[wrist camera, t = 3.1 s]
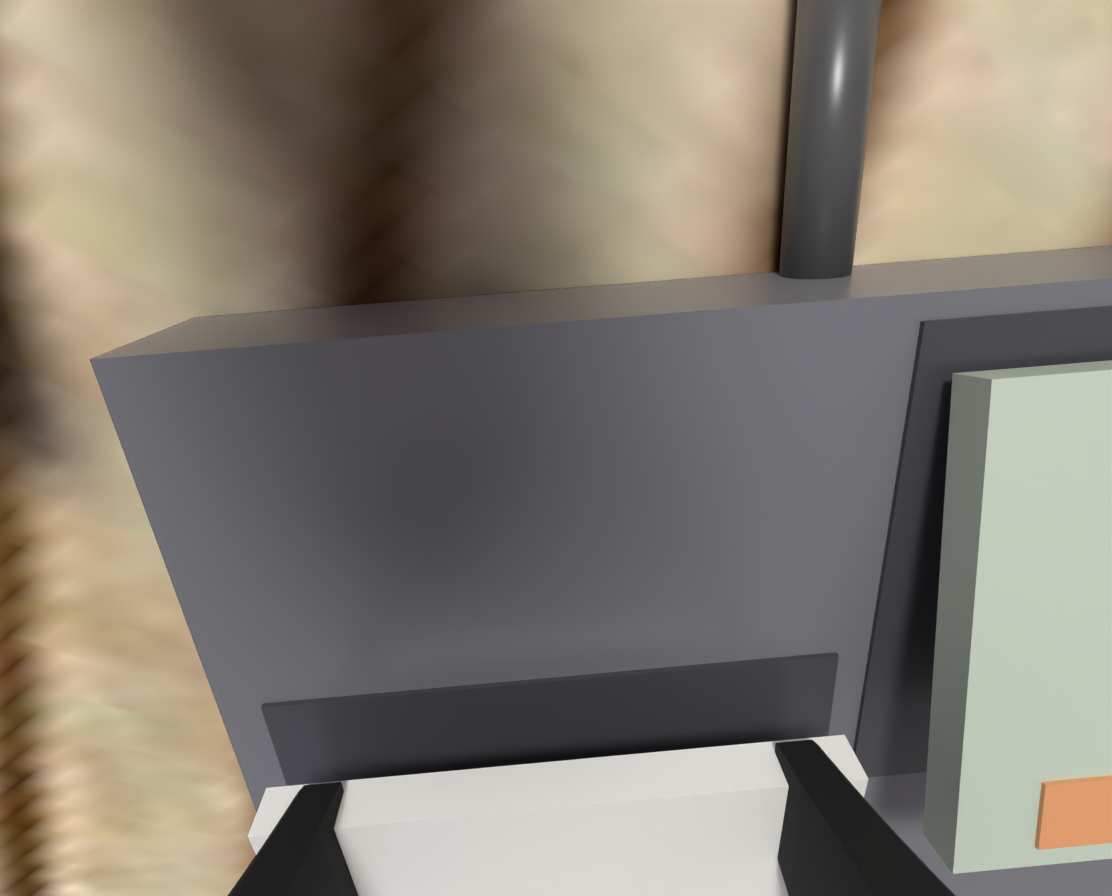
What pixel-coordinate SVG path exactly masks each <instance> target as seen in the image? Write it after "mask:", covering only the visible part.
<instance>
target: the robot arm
mask: <svg viewBox="0 0 1112 896" xmlns="http://www.w3.org/2000/svg"><path fill="white" fill-rule="evenodd" d="M775 754H776V756H777V759H778V761H779V764H780V766H781V769H782V771H783V773H784V776H785V778H786V781H787V783H788V786H789V788H788V794H787V801H786V807H785V813H784V819H783V826H782V832H781V838H780V844H779V851H778V857H777V860H778V863H779V866H780V869H781V873H782V876H783V879H784V882H785V886H786V889H787V892H788V895H789V896H956V895H955V894H954V893H953V892H952V891H951V890H950V889H949V888H948V887H947V886H946V885H945V884H944V883H943V882H942V881H941V880H940V879H939V878H938V877H937V876H936V875H935V874H934V873H933V872H932V871H931V870H930V869H929V868H928V867H927V866H926V864H925V863H924V862H923V861H922V860H921V859H920V858H919V857H918V856H917V855H916V854H915V853H914V852H913V851H912V850H911V849H910V848H909V847H908V846H907V844H906V843H905V842H904V841H903V840H902V839H901V838H900V837H899V836H898V835H897V834H896V833H895V832H894V831H893V829H892V828H891V827H890V826H889V825H888V824H887V823H886V822H885V821H884V820H883V819H882V817H881V816H880V815H879V814H878V813H877V812H876V811H875V810H874V808H873V807H872V806H871V805H870V804H869V803H868V802H867V801H866V800H865V798H864V797H863V796H862V795H861V794H860V793H859V792H858V790H857V789H856V788H855V787H854V786H853V785H852V784H851V782H850V781H849V780H848V779H847V778H846V777H845V776H844V774H843V773H842V772H841V771H840V770H839V769H838V767H837V766H836V765H835V764H834V763H833V762H832V760H831V759H830V758H829V757H828V756H827V755H826V753H825V752H824V751H823V750H822V749H821V747H820V746H819V745H818V744H817V743H816V742H814V741H813V740H802V741H791V742H780V743H776V746H775ZM343 793H344V790H343V786H342V783H341V782H333V783H321V784H310V785H304V786H303V787H302V788H301V789H300V790H299V791H298V793H297V794H296V796H295V797H294V799H293V800H292V802H291V804H290V805H289V807H288V808H287V810H286V811H285V813H284V814H283V816H282V817H281V819H280V820H279V822H278V823H277V825H276V826H275V828H274V829H273V831H272V832H271V834H270V835H269V837H268V838H267V840H266V841H265V843H264V844H263V846H262V847H261V849H260V850H259V852H258V853H257V854H256V856H255V857H254V859H253V860H252V862H251V863H250V865H249V866H248V868H247V869H246V871H245V872H244V873H243V875H242V876H241V878H240V879H239V881H238V882H237V884H236V885H235V886H234V888H233V889H232V891H231V892H230V893H229V895H228V896H358V893H357V890H356V887H355V885H354V882H353V879H352V877H351V874H350V871H349V868H348V866H347V863H346V860H345V858H344V855H343V852H342V850H341V847H340V844H339V841H338V839H337V836H336V833H335V831H334V826H335V822H336V819H337V815H338V811H339V808H340V804H341V800H342V796H343Z"/></svg>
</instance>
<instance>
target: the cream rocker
mask: <svg viewBox="0 0 1112 896" xmlns="http://www.w3.org/2000/svg"><path fill="white" fill-rule="evenodd" d="M802 740H813V741H814V742H816V743H817V744H818V745H819V746H820V747H821V749H822V750H823V751H824V752H825V753H826V755H827V756H828V757H829V758H830V759H831V760H832V762H833V763H834V764H835V765H836V766H837V767H838V769H839V770H840V771H841V772H842V773H843V774H844V776H845V777H846V778H847V779H848V780H849V781H850V782H851V784H852V785H853V786H854V787H855V788H856V789H857V790H858V792H859V793H860V794H861V795H862V796H863V797H864V795H865V791H866V787H867V783H868V777H867V775H866V773H865V771H864V770H863V768H862V766H861V764H860V762H859V760H858V759H857V757H856V755H855V753H854V751H853V749H852V747H851V746H850V744H849V742H848V740H847V738H846V736H845V735H835V736H825V737H814V738H803V739H792V740H781V741H770V742H759V743H748V744H738V745H727V746H716V747H705V748H694V749H683V750H672V751H661V752H651V753H640V754H629V755H618V756H607V757H596V758H585V759H574V760H564V761H553V762H542V763H531V764H520V765H509V766H498V767H488V768H477V769H466V770H455V771H444V772H433V773H422V774H411V775H401V776H390V777H379V778H368V779H357V780H346V781H335V782H341V783H342V786H343V790H344V793H343V796H342V800H341V804H340V808H339V811H338V815H337V819H336V822H335V826H334V831H335V833H336V836H337V839H338V841H339V844H340V847H341V850H342V852H343V855H344V858H345V860H346V863H347V866H348V868H349V871H350V874H351V877H352V879H353V882H354V885H355V887H356V890H357V893H358V896H789V895H788V892H787V889H786V886H785V882H784V879H783V876H782V873H781V869H780V866H779V863H778V860H777V857H778V851H779V844H780V838H781V832H782V826H783V819H784V813H785V807H786V801H787V794H788V788H789V786H788V783H787V781H786V778H785V776H784V773H783V771H782V769H781V766H780V764H779V761H778V759H777V756H776V754H775V746H776V743H780V742H791V741H802ZM324 783H333V782H324ZM314 784H321V783H314ZM304 785H310V784H303V785H292V786H281V787H270V788H266V790H265V793H264V795H263V798H262V801H261V803H260V806H259V808H258V811H257V814H256V816H255V819H254V821H253V824H252V827H251V829H250V832H249V834H248V839H249V841H250V843H251V845H252V847H253V849H254V851H255V853H256V854H257V853H258V852H259V850H260V849H261V847H262V846H263V844H264V843H265V841H266V840H267V838H268V837H269V835H270V834H271V832H272V831H273V829H274V828H275V826H276V825H277V823H278V822H279V820H280V819H281V817H282V816H283V814H284V813H285V811H286V810H287V808H288V807H289V805H290V804H291V802H292V800H293V799H294V797H295V796H296V794H297V793H298V791H299V790H300V789H301V788H302V787H303V786H304Z"/></svg>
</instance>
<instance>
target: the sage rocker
mask: <svg viewBox="0 0 1112 896" xmlns="http://www.w3.org/2000/svg"><path fill="white" fill-rule="evenodd" d="M923 834H924V836H925V837H926V838H927V840H928V841H929V842H930V844H931V845H932V846H933V848H934V849H935V850H936V852H937V853H938V854H939V856H940V857H941V858H942V860H943V861H944V863H945V864H946V865H947V867H948V868H949V869H950V871H951V872H952V873H953V874H957V873H967V872H978V871H988V870H999V869H1009V868H1019V867H1030V866H1040V865H1051V864H1061V863H1071V862H1082V861H1092V860H1103V859H1112V360H1108V361H1096V362H1084V363H1072V364H1059V365H1047V366H1035V367H1023V368H1010V369H998V370H986V371H974V372H962V373H953V374H952V389H951V405H950V420H949V436H948V451H947V467H946V482H945V497H944V513H943V528H942V544H941V559H940V575H939V590H938V606H937V621H936V636H935V652H934V667H933V683H932V698H931V714H930V729H929V745H928V760H927V775H926V791H925V806H924V822H923Z"/></svg>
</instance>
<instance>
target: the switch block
mask: <svg viewBox="0 0 1112 896" xmlns="http://www.w3.org/2000/svg"><path fill="white" fill-rule="evenodd" d="M881 7H882V0H797V15H796V30H795V45H794V60H793V74H792V89H791V104H790V119H789V134H788V148H787V163H786V178H785V193H784V208H783V222H782V237H781V252H780V267H779V272H768V273H755V274H742V275H730V276H717V277H704V278H692V279H679V280H666V281H653V282H641V283H628V284H615V285H602V286H590V287H577V288H564V289H551V290H539V291H526V292H513V293H500V294H488V295H475V296H462V297H449V298H437V299H424V300H411V301H398V302H386V303H373V304H360V305H347V306H335V307H322V308H309V309H296V310H284V311H271V312H258V313H245V314H233V315H220V316H207V317H194V318H192V319H189V320H187V321H184V322H182V323H179V324H177V325H174V326H172V327H169V328H167V329H164V330H162V331H159V332H157V333H154V334H152V335H149V336H147V337H144V338H142V339H139V340H137V341H134V342H132V343H129V344H127V345H124V346H122V347H119V348H117V349H114V350H112V351H109V352H107V353H104V354H102V355H99V356H97V357H94V358H92V359H90V362H91V364H92V367H93V370H94V372H95V375H96V378H97V381H98V383H99V386H100V389H101V391H102V394H103V397H104V400H105V402H106V405H107V408H108V410H109V413H110V416H111V418H112V421H113V424H114V427H115V429H116V432H117V435H118V437H119V440H120V443H121V446H122V448H123V451H124V454H125V456H126V459H127V462H128V465H129V467H130V470H131V473H132V475H133V478H134V481H135V484H136V486H137V489H138V492H139V494H140V497H141V500H142V503H143V505H144V508H145V511H146V513H147V516H148V519H149V522H150V524H151V527H152V530H153V532H154V535H155V538H156V540H157V543H158V546H159V549H160V551H161V554H162V557H163V559H164V562H165V565H166V568H167V570H168V573H169V576H170V578H171V581H172V584H173V587H174V589H175V592H176V595H177V597H178V600H179V603H180V606H181V608H182V611H183V614H184V616H185V619H186V622H187V625H188V627H189V630H190V633H191V635H192V638H193V641H194V644H195V646H196V649H197V652H198V654H199V657H200V660H201V662H202V665H203V668H204V671H205V673H206V676H207V679H208V681H209V684H210V687H211V690H212V692H213V695H214V698H215V700H216V703H217V706H218V709H219V711H220V714H221V717H222V719H223V722H224V725H225V728H226V730H227V733H228V736H229V738H230V741H231V744H232V747H233V749H234V752H235V755H236V757H237V760H238V763H239V766H240V768H241V771H242V774H243V776H244V779H245V782H246V784H247V787H248V790H249V793H250V795H251V798H252V801H253V803H254V806H255V809H256V812H257V811H258V808H259V806H260V803H261V801H262V798H263V795H264V793H265V790H266V788H270V787H281V786H292V785H303V784H314V783H324V782H335V781H346V780H357V779H368V778H379V777H390V776H401V775H411V774H422V773H433V772H444V771H455V770H466V769H477V768H488V767H498V766H509V765H520V764H531V763H542V762H553V761H564V760H574V759H585V758H596V757H607V756H618V755H629V754H640V753H651V752H661V751H672V750H683V749H694V748H705V747H716V746H727V745H738V744H748V743H759V742H770V741H781V740H792V739H803V738H814V737H825V736H835V735H845V736H846V738H847V740H848V742H849V744H850V746H851V747H852V749H853V751H854V753H855V755H856V757H857V759H858V760H859V762H860V764H861V766H862V768H863V770H864V771H865V773H866V775H867V777H868V783H867V787H866V791H865V795H864V798H865V800H866V801H867V802H868V803H869V804H870V805H871V806H872V807H873V808H874V810H875V811H876V812H877V813H878V814H879V815H880V816H881V817H882V819H883V820H884V821H885V822H886V823H887V824H888V825H889V826H890V827H891V828H892V829H893V831H894V832H895V833H896V834H897V835H898V836H899V837H900V838H901V839H902V840H903V841H904V842H905V843H906V844H907V846H908V847H909V848H910V849H911V850H912V851H913V852H914V853H915V854H916V855H917V856H918V857H919V858H920V859H921V860H922V861H923V862H924V863H925V864H926V866H927V867H928V868H929V869H930V870H931V871H932V872H933V873H934V874H935V875H936V876H937V877H938V878H939V879H940V880H941V881H942V882H943V883H944V884H945V885H946V886H947V887H948V888H949V889H950V890H951V891H952V892H953V893H954V894H955V895H956V896H1112V859H1103V860H1092V861H1082V862H1071V863H1061V864H1051V865H1040V866H1030V867H1019V868H1009V869H999V870H988V871H978V872H967V873H957V874H953V873H952V872H951V871H950V869H949V868H948V867H947V865H946V864H945V863H944V861H943V860H942V858H941V857H940V856H939V854H938V853H937V852H936V850H935V849H934V848H933V846H932V845H931V844H930V842H929V841H928V840H927V838H926V837H925V836H924V834H923V822H924V806H925V791H926V775H927V760H928V745H929V729H930V714H931V698H932V683H933V667H934V652H935V636H936V621H937V606H938V590H939V575H940V559H941V544H942V528H943V513H944V497H945V482H946V467H947V451H948V436H949V420H950V405H951V389H952V374H953V373H962V372H974V371H986V370H998V369H1010V368H1023V367H1035V366H1047V365H1059V364H1072V363H1084V362H1096V361H1108V360H1112V246H1099V247H1087V248H1074V249H1061V250H1048V251H1036V252H1023V253H1010V254H997V255H985V256H972V257H959V258H946V259H934V260H921V261H908V262H895V263H883V264H870V265H857V266H853V258H854V249H855V240H856V231H857V222H858V213H859V204H860V195H861V187H862V178H863V169H864V160H865V151H866V142H867V133H868V124H869V115H870V106H871V97H872V88H873V79H874V70H875V61H876V52H877V43H878V34H879V25H880V16H881Z"/></svg>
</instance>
